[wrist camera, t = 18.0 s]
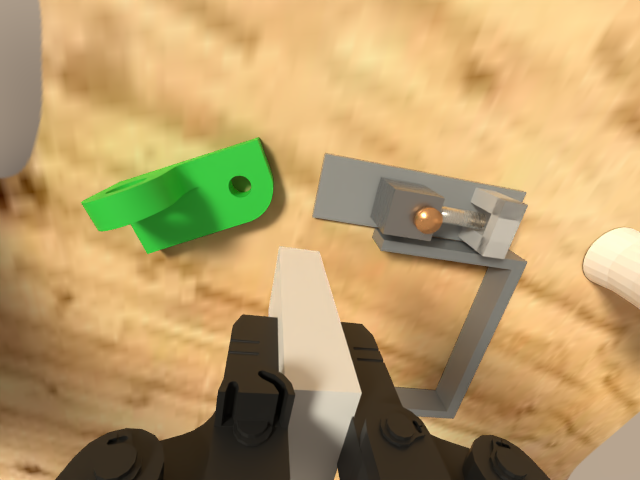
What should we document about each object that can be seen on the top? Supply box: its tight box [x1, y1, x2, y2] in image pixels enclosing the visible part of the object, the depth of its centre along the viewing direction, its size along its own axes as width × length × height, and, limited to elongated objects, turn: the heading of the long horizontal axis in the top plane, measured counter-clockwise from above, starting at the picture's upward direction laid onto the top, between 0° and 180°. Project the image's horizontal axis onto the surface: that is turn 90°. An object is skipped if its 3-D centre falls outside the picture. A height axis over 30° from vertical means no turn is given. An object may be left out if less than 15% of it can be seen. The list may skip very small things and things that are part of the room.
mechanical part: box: [81, 137, 274, 254], centre depth 25 cm, size 12×6×8 cm, turn 106°
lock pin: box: [370, 177, 486, 241], centre depth 28 cm, size 9×4×5 cm, turn 79°
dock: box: [312, 153, 528, 419], centre depth 32 cm, size 20×26×5 cm
